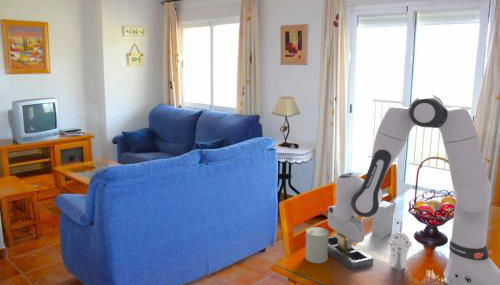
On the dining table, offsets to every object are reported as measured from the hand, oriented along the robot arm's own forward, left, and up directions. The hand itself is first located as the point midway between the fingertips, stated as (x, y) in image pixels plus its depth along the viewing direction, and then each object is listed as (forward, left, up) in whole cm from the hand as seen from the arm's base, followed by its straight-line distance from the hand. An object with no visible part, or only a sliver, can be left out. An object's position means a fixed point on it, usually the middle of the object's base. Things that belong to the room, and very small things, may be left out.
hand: (344, 244), depth 178 cm
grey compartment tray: (0, 0, -5) cm, 5 cm away
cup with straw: (-17, -13, -5) cm, 22 cm away
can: (+2, +12, -5) cm, 13 cm away
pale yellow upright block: (0, 0, -2) cm, 2 cm away
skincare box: (+11, -29, -5) cm, 31 cm away
